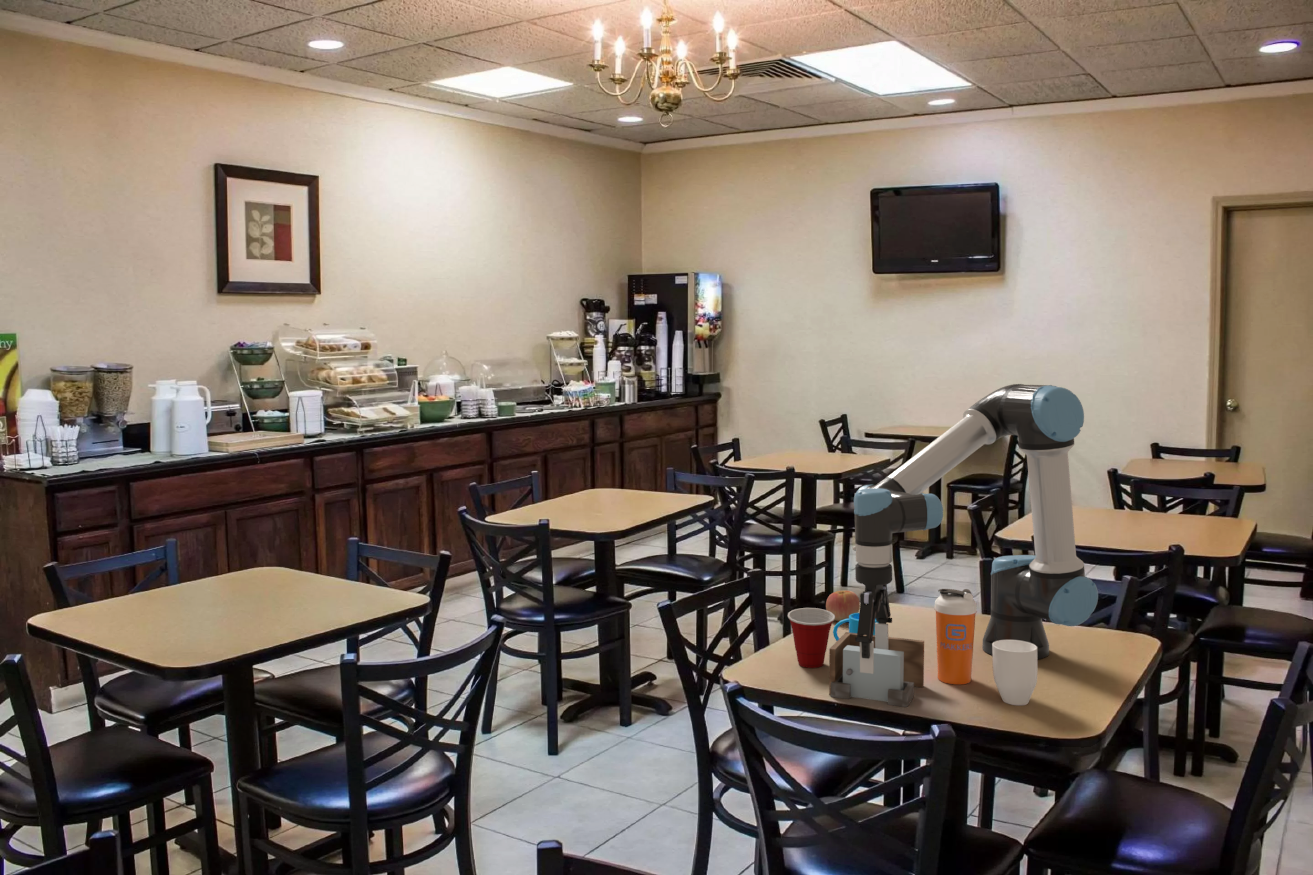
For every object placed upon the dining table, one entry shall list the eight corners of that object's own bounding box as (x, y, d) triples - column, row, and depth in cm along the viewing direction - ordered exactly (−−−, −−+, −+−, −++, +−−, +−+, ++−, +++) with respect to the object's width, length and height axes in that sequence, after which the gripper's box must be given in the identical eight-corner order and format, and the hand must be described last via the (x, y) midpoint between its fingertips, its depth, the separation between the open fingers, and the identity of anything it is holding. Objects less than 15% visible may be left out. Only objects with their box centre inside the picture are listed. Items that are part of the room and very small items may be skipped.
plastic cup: (790, 672, 239) (790, 620, 238) (784, 657, 250) (784, 607, 249) (838, 671, 239) (838, 619, 238) (830, 657, 250) (831, 607, 249)
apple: (859, 625, 277) (860, 595, 276) (825, 624, 278) (825, 594, 278) (859, 616, 285) (859, 587, 285) (826, 615, 287) (826, 586, 286)
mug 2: (1042, 708, 214) (1042, 651, 213) (997, 709, 215) (997, 651, 214) (1028, 689, 226) (1027, 634, 224) (985, 689, 226) (985, 635, 225)
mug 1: (883, 646, 258) (884, 613, 258) (882, 655, 251) (882, 622, 250) (834, 643, 261) (834, 610, 261) (831, 652, 253) (831, 619, 253)
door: (903, 698, 222) (903, 651, 221) (898, 704, 218) (899, 657, 217) (846, 690, 227) (847, 645, 226) (841, 697, 223) (841, 650, 222)
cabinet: (923, 685, 229) (924, 640, 228) (910, 707, 216) (910, 659, 215) (845, 675, 236) (845, 632, 235) (827, 696, 223) (828, 649, 222)
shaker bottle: (929, 672, 237) (930, 585, 236) (969, 672, 237) (971, 585, 235) (938, 686, 229) (940, 595, 227) (980, 686, 228) (982, 595, 226)
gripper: (869, 549, 233) (870, 643, 235) (840, 575, 210) (841, 679, 212) (904, 552, 229) (904, 647, 232) (878, 578, 207) (879, 683, 209)
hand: (874, 662), depth 222 cm, fingers open, 13 cm apart
